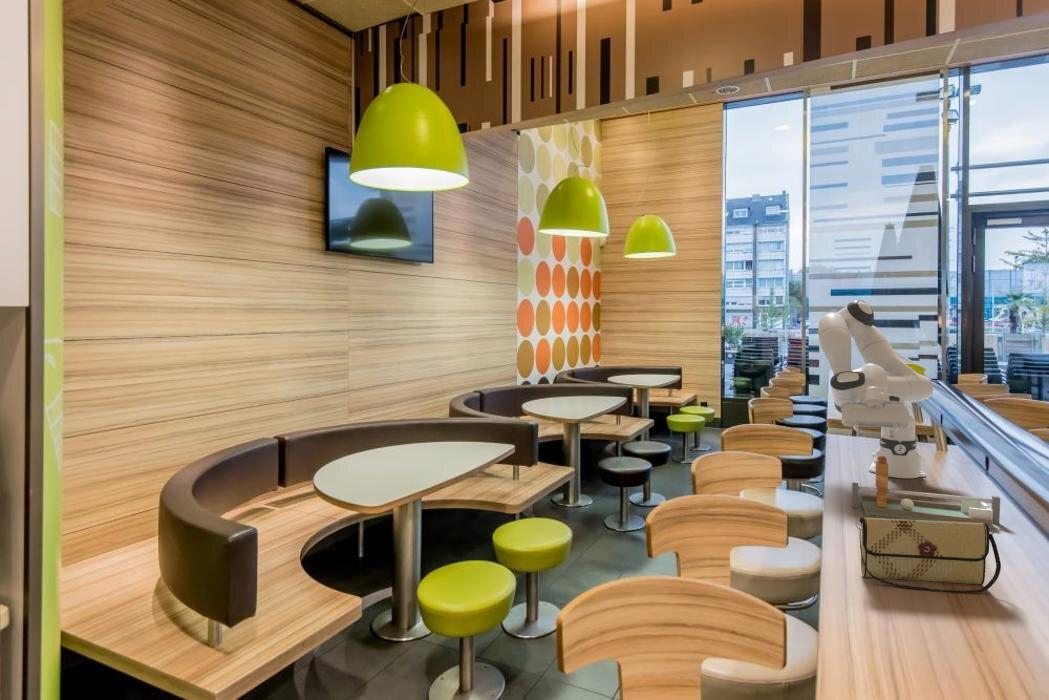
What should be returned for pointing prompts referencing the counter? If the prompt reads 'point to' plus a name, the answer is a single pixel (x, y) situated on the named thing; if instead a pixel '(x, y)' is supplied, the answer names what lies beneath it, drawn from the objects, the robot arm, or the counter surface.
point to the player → (881, 481)
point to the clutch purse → (926, 551)
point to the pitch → (931, 507)
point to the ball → (907, 504)
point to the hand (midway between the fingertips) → (875, 435)
